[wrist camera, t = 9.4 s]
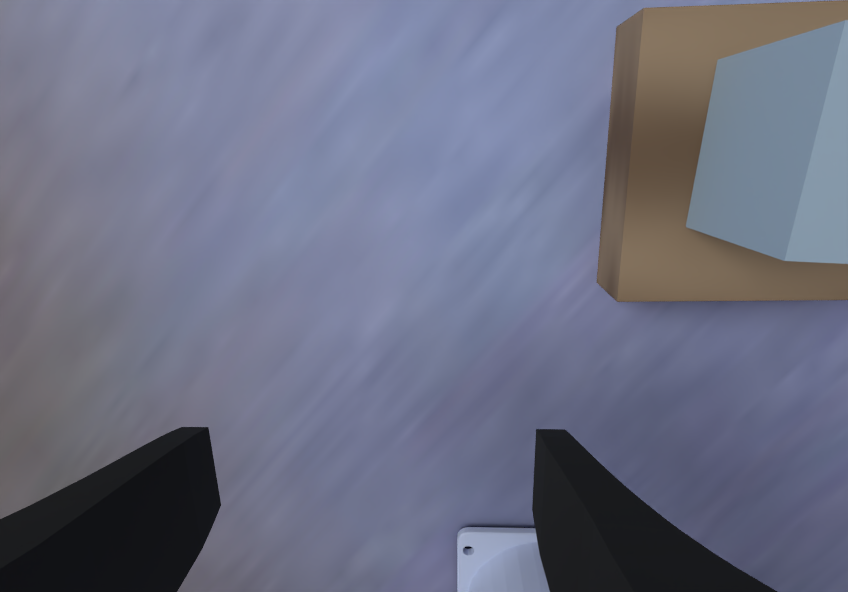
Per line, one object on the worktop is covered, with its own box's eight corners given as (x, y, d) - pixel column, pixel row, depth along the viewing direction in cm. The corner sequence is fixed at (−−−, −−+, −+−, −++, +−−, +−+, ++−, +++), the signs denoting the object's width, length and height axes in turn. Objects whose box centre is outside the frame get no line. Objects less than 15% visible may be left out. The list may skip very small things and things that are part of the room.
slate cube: (842, 233, 16) (1006, 271, 12) (685, 227, 16) (784, 260, 12) (889, 66, 15) (1100, 29, 10) (717, 59, 15) (845, 20, 10)
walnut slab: (826, 276, 20) (891, 299, 17) (593, 279, 20) (617, 301, 17) (881, 20, 17) (968, -5, 14) (611, 30, 18) (643, 7, 15)
